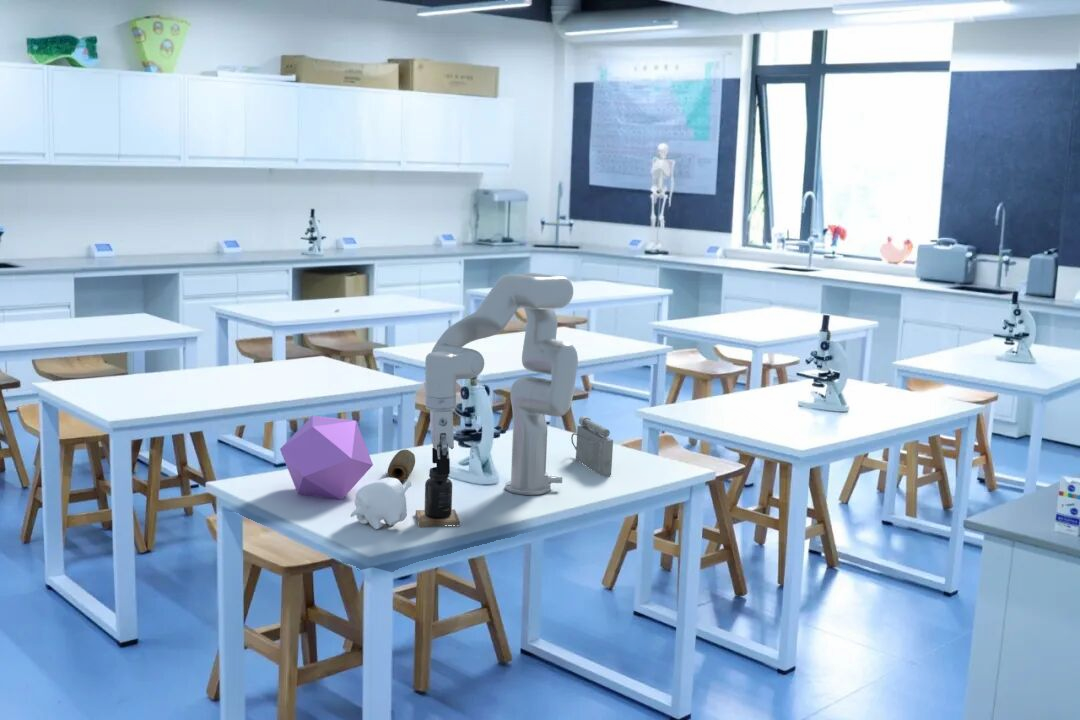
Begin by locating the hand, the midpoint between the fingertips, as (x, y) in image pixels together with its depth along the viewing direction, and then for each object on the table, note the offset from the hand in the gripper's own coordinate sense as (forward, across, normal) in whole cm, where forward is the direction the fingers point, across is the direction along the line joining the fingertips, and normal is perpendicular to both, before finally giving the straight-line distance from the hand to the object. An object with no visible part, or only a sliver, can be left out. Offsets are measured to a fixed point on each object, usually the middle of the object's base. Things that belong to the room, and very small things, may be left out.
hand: (440, 468), depth 286 cm
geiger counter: (+16, +49, -50) cm, 72 cm away
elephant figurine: (+13, -4, +15) cm, 20 cm away
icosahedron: (+13, +25, +28) cm, 40 cm away
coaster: (+13, -1, +1) cm, 13 cm away
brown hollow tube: (+15, +40, +7) cm, 43 cm away
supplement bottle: (+12, -1, +1) cm, 12 cm away
